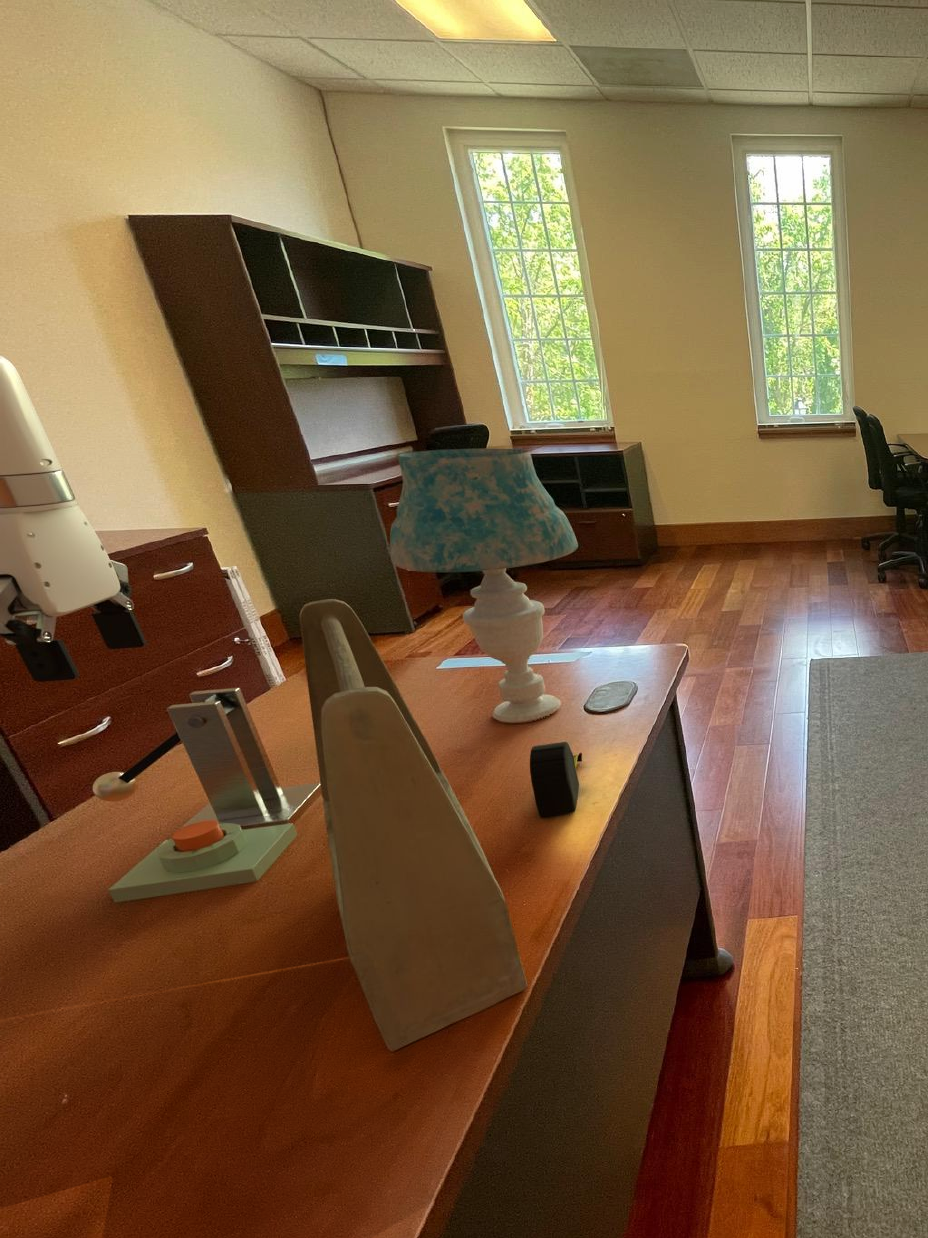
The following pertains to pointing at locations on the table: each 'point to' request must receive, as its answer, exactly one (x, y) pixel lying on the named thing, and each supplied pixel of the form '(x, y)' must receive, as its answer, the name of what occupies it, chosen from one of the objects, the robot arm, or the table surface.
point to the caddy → (400, 846)
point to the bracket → (235, 765)
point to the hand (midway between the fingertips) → (95, 662)
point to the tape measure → (554, 778)
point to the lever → (139, 767)
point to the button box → (205, 863)
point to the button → (197, 835)
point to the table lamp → (486, 552)
